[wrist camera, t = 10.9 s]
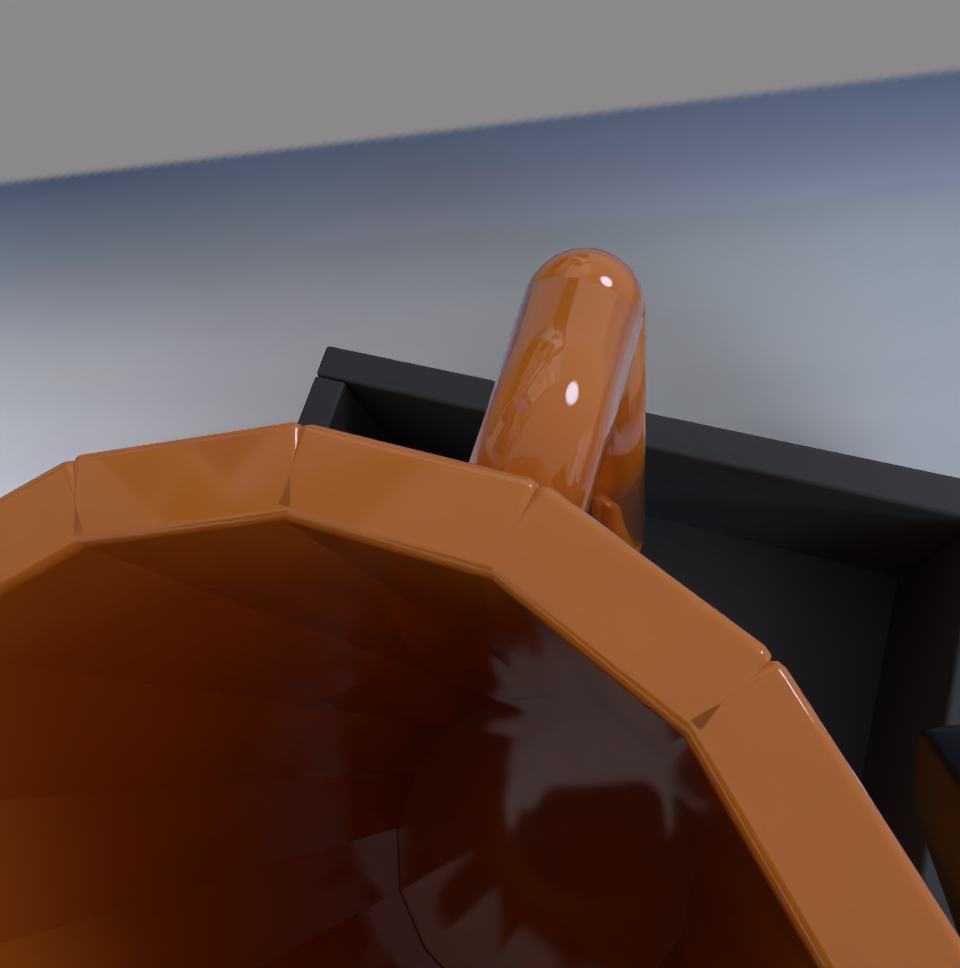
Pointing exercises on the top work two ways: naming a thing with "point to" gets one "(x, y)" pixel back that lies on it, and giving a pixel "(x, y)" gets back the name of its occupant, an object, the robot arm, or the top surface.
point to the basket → (759, 558)
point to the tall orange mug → (417, 705)
